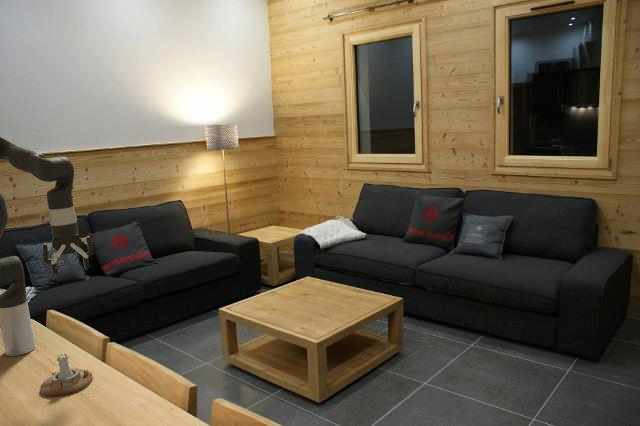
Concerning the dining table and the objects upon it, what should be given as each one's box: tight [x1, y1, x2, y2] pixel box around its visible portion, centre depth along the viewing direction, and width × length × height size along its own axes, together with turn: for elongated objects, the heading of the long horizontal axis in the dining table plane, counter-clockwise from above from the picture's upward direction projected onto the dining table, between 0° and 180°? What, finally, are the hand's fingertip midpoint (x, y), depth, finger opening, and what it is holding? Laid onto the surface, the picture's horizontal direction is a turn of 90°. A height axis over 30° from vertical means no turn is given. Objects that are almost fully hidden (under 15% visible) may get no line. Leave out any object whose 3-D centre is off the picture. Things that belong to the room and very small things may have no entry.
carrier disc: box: [39, 367, 93, 398], centre depth 160 cm, size 14×14×3 cm
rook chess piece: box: [56, 353, 74, 379], centre depth 159 cm, size 4×4×8 cm
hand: (71, 272), depth 170 cm, fingers open, 8 cm apart
